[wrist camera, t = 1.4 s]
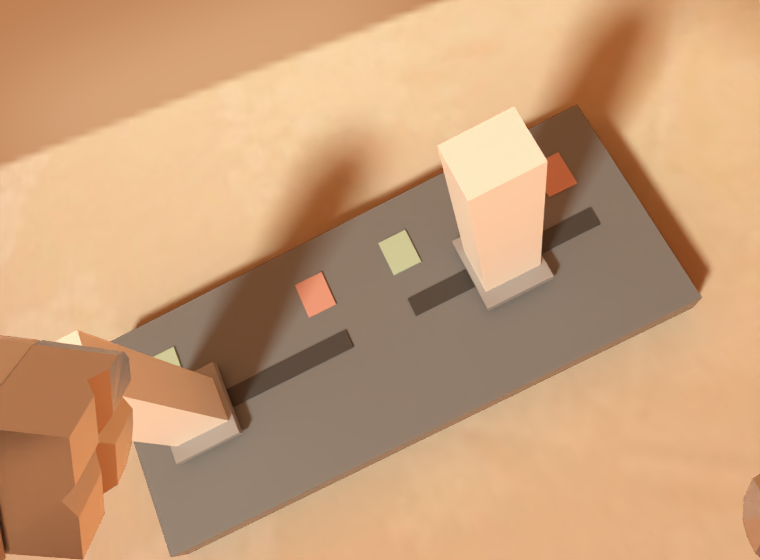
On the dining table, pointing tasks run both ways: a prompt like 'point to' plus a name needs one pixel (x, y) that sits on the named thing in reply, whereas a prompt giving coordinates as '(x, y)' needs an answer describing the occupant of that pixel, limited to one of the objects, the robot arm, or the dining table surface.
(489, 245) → the breaker lever
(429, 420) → the breaker panel
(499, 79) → the dining table surface
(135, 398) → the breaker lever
